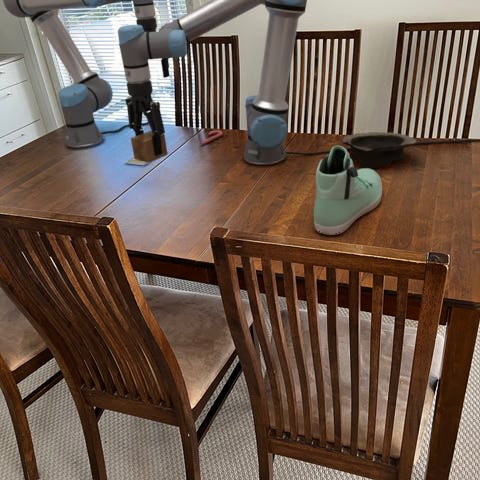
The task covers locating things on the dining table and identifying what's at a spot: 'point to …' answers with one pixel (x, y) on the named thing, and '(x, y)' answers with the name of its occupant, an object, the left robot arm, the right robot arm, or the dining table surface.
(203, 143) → the candy cane
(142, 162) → the baking ingredient package
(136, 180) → the dining table surface
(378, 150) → the black hat
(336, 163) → the sneaker
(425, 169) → the dining table surface
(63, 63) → the left robot arm
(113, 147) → the dining table surface
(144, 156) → the block
